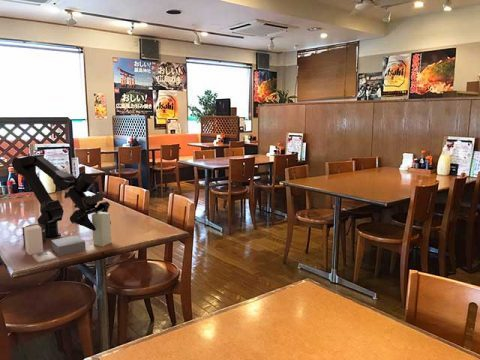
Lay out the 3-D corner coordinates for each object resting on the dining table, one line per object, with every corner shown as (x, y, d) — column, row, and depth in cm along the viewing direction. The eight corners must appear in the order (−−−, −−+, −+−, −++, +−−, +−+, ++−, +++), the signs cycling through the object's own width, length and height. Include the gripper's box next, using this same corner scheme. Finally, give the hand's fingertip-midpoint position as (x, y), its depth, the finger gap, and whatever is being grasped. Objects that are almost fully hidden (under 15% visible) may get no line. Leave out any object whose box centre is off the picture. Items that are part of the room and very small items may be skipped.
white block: (26, 251, 151) (23, 227, 149) (39, 248, 154) (37, 224, 152) (29, 255, 147) (26, 230, 145) (43, 252, 150) (41, 227, 149)
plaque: (32, 256, 146) (32, 254, 145) (49, 252, 149) (49, 251, 149) (38, 262, 140) (38, 260, 140) (55, 258, 144) (55, 256, 143)
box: (35, 245, 158) (34, 228, 156) (23, 244, 159) (21, 227, 158) (46, 240, 164) (44, 224, 162) (33, 239, 165) (32, 223, 164)
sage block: (93, 244, 159) (91, 214, 157) (101, 241, 164) (100, 211, 161) (103, 246, 157) (101, 215, 155) (111, 242, 162) (109, 212, 160)
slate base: (52, 249, 154) (51, 240, 153) (77, 244, 160) (77, 235, 160) (59, 256, 146) (58, 246, 146) (85, 251, 153) (85, 241, 152)
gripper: (73, 191, 149) (97, 221, 147) (105, 183, 166) (127, 209, 165) (59, 208, 153) (82, 238, 151) (92, 199, 171) (113, 225, 169)
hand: (103, 227), depth 159 cm, fingers open, 9 cm apart
